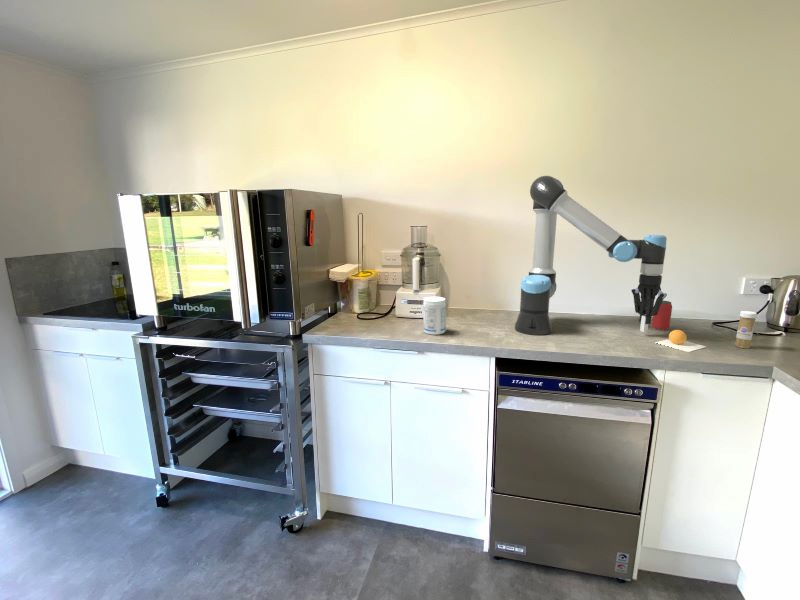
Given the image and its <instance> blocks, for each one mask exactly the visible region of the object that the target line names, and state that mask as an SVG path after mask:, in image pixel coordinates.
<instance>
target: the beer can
mask: <svg viewBox="0 0 800 600" xmlns="http://www.w3.org/2000/svg"><path fill="white" fill-rule="evenodd" d="M672 311H673V304H672V301H669V300H663V301H662V304H661V306H660V309H659V311H658V314H657V315H655V316H652V317H651V328H653V329H654V328H655V330H658V329H660V331H666V330H670V326H671V325H670V324H671V319H672V313H673V312H672Z"/></svg>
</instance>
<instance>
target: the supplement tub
mask: <svg viewBox="0 0 800 600" xmlns="http://www.w3.org/2000/svg"><path fill="white" fill-rule="evenodd" d="M422 306H423V307H422V308H423V310H422V315H423V319H422V320H423V332H424V333H425V334H426V335H433V336H434V335H436V336H437V335H442V334H445V332H446V329H447V327H446V324H447V321H446V320H447V314H446V313H447V301H446V298H445V297H442V296H427V297H423V305H422Z"/></svg>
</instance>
